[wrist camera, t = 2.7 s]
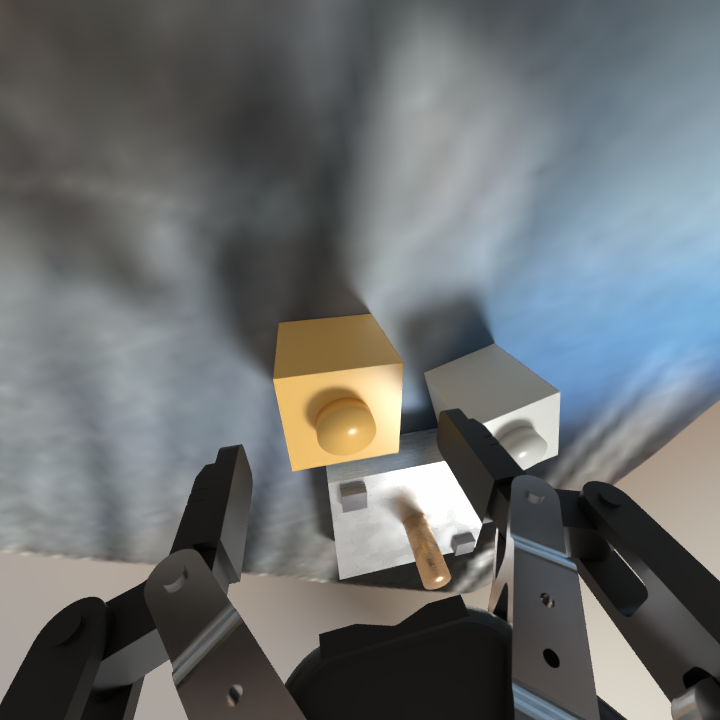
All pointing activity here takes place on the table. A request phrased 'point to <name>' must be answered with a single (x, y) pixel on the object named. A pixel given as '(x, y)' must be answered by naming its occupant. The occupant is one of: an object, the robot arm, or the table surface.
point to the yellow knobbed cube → (337, 390)
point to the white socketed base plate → (400, 511)
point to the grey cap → (501, 401)
